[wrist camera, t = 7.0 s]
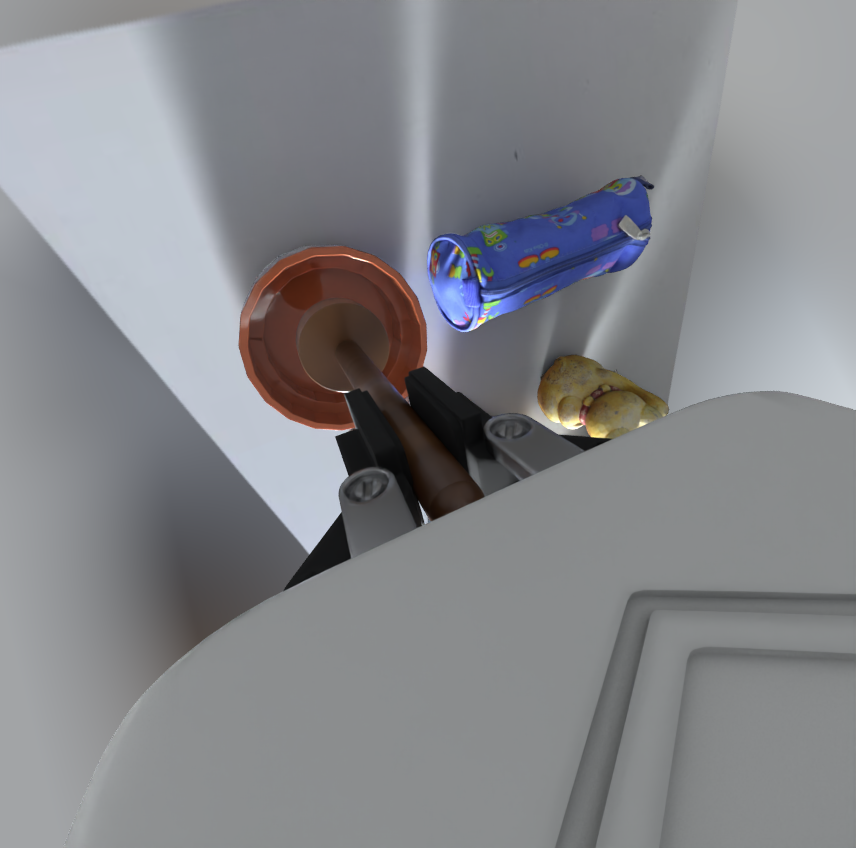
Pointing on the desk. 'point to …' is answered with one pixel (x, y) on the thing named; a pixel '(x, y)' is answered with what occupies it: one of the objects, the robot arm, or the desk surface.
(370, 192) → the desk surface
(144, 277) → the desk surface
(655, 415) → the decorative figurine
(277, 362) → the mixing bowl
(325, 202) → the desk surface
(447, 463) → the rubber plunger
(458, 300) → the pencil case
